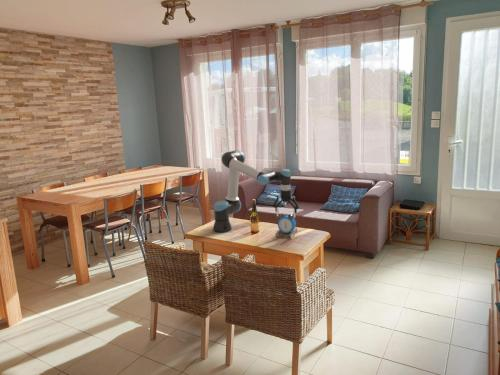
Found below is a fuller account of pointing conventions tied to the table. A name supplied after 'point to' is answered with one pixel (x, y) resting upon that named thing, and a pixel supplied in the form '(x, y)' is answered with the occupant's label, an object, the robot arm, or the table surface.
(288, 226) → the alarm clock
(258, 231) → the table surface
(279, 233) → the plinth
